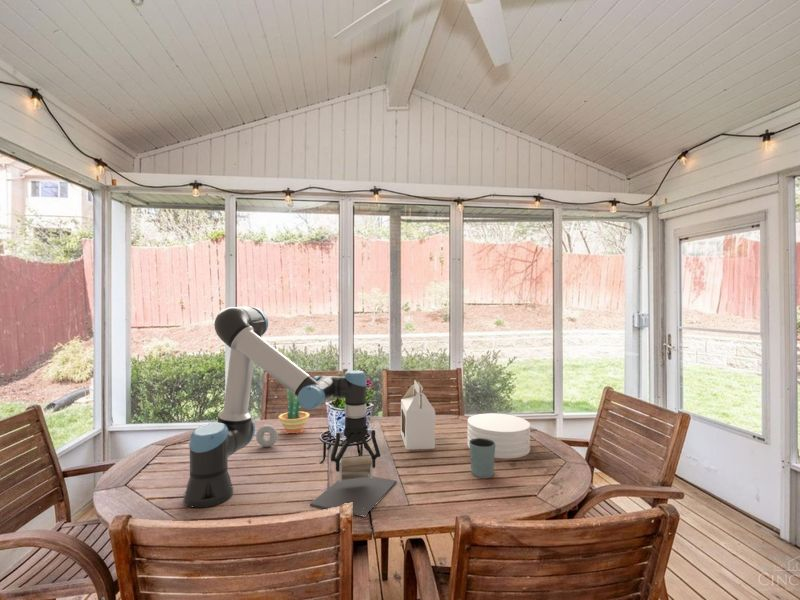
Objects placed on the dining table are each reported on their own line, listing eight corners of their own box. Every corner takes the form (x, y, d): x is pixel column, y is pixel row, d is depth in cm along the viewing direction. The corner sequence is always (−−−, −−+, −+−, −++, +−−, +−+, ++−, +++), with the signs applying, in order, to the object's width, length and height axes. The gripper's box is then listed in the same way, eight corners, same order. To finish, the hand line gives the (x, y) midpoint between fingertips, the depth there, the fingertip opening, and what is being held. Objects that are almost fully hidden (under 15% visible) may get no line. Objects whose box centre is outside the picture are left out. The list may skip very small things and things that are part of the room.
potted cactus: (314, 427, 210) (315, 380, 210) (299, 437, 195) (300, 386, 195) (288, 425, 214) (289, 378, 214) (272, 434, 199) (272, 384, 199)
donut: (279, 445, 184) (279, 423, 184) (276, 448, 181) (276, 426, 181) (257, 445, 184) (257, 423, 184) (254, 448, 181) (254, 426, 181)
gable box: (435, 449, 181) (435, 387, 181) (406, 450, 179) (406, 387, 179) (426, 433, 203) (426, 377, 203) (400, 433, 202) (401, 378, 202)
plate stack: (456, 440, 193) (456, 416, 193) (505, 433, 203) (505, 411, 203) (489, 462, 167) (489, 434, 167) (543, 453, 176) (543, 427, 176)
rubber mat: (365, 517, 123) (365, 515, 123) (309, 505, 131) (309, 503, 131) (396, 482, 148) (396, 480, 148) (348, 473, 155) (348, 471, 155)
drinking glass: (476, 480, 150) (476, 447, 150) (464, 469, 160) (464, 438, 160) (500, 476, 153) (500, 445, 153) (487, 466, 162) (487, 436, 162)
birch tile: (339, 471, 146) (342, 457, 137) (367, 469, 148) (370, 454, 140) (340, 480, 144) (342, 466, 135) (367, 477, 146) (371, 463, 138)
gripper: (384, 410, 147) (385, 470, 147) (322, 414, 142) (322, 477, 142) (389, 416, 140) (389, 479, 140) (323, 420, 135) (323, 486, 135)
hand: (355, 478), depth 141 cm, fingers closed on birch tile, 10 cm apart
